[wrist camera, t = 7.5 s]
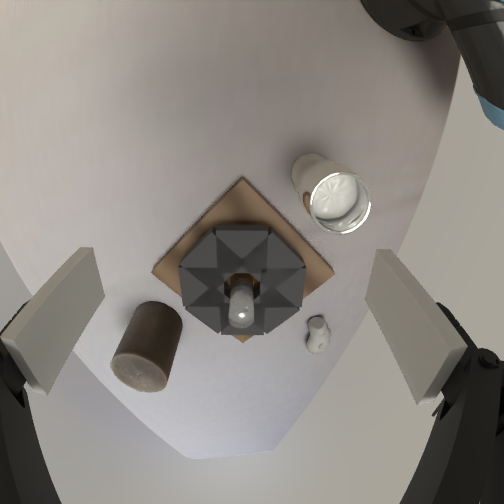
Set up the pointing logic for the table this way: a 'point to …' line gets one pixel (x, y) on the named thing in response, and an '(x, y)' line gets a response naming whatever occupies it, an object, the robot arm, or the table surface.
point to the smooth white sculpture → (318, 335)
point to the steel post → (241, 300)
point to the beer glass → (331, 194)
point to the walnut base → (243, 213)
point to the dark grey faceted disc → (242, 261)
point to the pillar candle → (148, 347)
